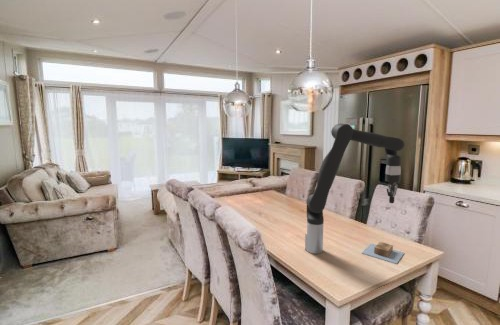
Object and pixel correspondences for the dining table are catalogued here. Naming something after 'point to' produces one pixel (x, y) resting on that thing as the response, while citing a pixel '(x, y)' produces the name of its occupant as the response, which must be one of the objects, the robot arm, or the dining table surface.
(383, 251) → the slab
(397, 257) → the mat
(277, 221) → the dining table surface
